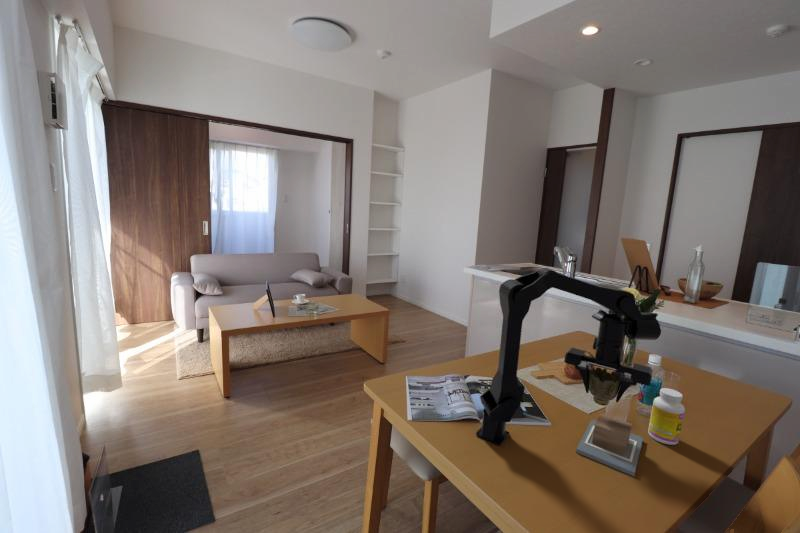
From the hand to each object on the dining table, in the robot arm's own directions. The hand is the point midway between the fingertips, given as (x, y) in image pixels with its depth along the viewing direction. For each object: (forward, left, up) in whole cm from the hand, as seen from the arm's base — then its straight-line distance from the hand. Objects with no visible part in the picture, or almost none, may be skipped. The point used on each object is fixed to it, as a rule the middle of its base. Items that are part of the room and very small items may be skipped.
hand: (602, 397), depth 94 cm
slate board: (-2, -4, -11) cm, 12 cm away
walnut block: (-2, -3, -10) cm, 11 cm away
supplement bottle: (+12, -14, -11) cm, 22 cm away
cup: (0, 0, -2) cm, 2 cm away
